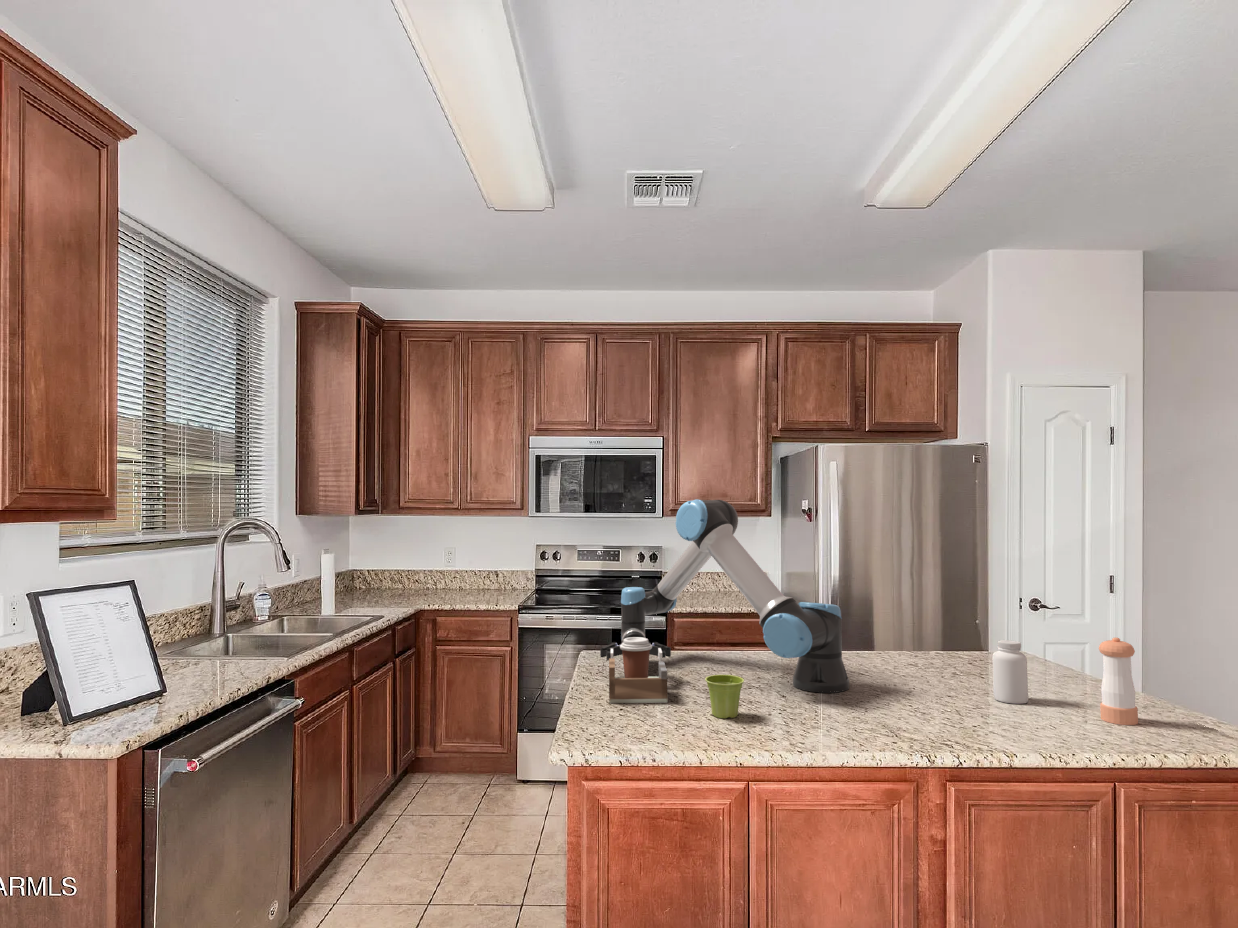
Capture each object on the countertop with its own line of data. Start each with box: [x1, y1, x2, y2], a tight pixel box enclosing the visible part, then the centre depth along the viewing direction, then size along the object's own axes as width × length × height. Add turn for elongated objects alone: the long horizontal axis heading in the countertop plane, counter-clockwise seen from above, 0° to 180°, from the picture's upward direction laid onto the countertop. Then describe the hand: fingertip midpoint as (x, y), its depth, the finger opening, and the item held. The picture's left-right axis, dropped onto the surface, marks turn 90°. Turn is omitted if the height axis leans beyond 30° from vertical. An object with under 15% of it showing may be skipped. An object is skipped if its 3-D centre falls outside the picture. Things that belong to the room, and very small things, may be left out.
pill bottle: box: [991, 639, 1029, 705], centre depth 194 cm, size 8×8×15 cm
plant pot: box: [704, 674, 745, 719], centre depth 182 cm, size 9×9×9 cm
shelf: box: [608, 657, 668, 704], centre depth 206 cm, size 24×15×9 cm, turn 1°
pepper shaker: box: [1098, 637, 1139, 726], centre depth 176 cm, size 7×7×19 cm
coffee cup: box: [619, 637, 652, 678], centre depth 212 cm, size 9×9×12 cm
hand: (636, 657), depth 208 cm, fingers open, 13 cm apart
